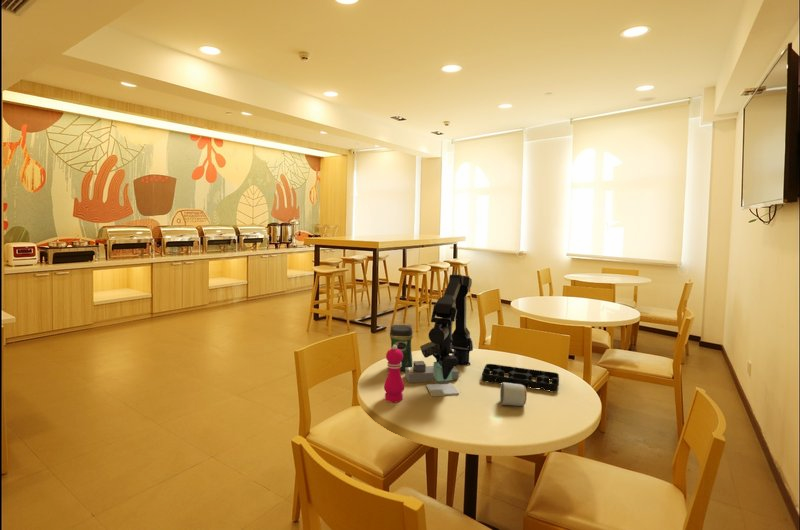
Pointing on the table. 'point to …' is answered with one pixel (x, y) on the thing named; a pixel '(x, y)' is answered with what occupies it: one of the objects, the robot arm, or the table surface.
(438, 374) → the green block
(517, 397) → the ceramic mug
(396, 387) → the pepper mill
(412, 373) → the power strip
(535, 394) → the table surface
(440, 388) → the mat
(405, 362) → the coffee jar
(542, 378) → the egg carton
